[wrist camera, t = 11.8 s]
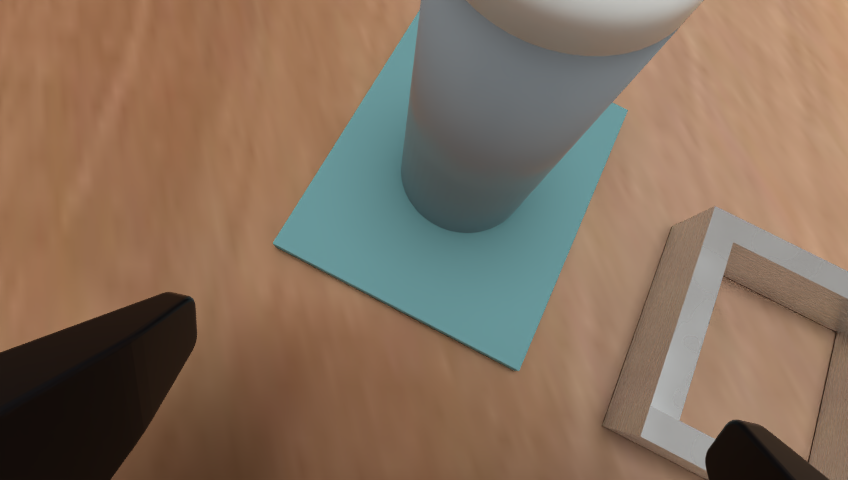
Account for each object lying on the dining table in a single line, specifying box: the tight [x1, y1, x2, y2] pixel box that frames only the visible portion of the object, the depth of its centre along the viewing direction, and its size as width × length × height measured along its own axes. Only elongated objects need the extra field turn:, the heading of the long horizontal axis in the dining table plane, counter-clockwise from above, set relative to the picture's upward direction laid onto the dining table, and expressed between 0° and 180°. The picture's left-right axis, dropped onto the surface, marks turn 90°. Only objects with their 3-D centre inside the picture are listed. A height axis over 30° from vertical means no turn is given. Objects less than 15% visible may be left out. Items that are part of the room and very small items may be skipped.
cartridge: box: [401, 0, 704, 233], centre depth 12 cm, size 5×5×12 cm
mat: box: [273, 10, 628, 371], centre depth 18 cm, size 12×10×1 cm
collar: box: [602, 206, 848, 480], centre depth 16 cm, size 9×9×2 cm
